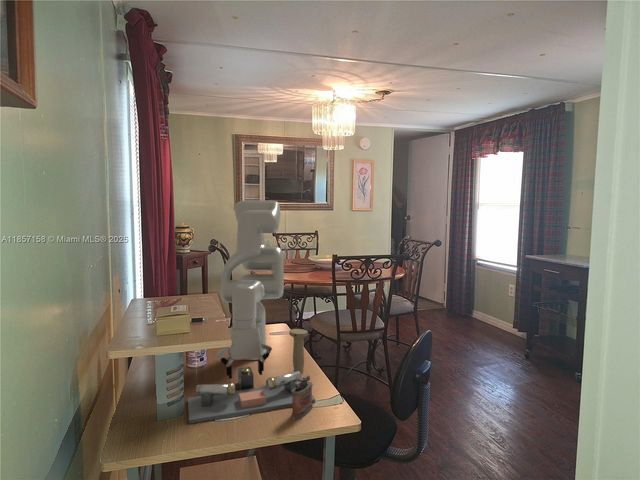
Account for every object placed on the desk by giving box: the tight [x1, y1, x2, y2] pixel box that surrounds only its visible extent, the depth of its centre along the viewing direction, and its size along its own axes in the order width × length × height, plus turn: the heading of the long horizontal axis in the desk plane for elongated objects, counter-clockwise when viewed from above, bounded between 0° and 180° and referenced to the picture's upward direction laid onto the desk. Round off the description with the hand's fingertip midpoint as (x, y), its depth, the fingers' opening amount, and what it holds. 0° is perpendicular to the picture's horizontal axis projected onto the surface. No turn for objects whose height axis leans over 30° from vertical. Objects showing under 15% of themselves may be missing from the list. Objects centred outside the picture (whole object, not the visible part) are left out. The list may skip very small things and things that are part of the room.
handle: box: [288, 328, 309, 375], centre depth 143 cm, size 5×6×15 cm
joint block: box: [237, 366, 255, 390], centre depth 134 cm, size 4×6×6 cm, turn 19°
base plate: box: [187, 385, 316, 424], centre depth 123 cm, size 13×36×3 cm, turn 109°
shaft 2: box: [265, 371, 303, 394], centre depth 127 cm, size 11×4×7 cm, turn 124°
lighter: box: [291, 374, 314, 420], centre depth 117 cm, size 8×3×10 cm, turn 147°
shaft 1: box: [195, 382, 236, 407], centre depth 121 cm, size 11×4×7 cm, turn 94°
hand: (245, 375), depth 133 cm, fingers open, 9 cm apart
